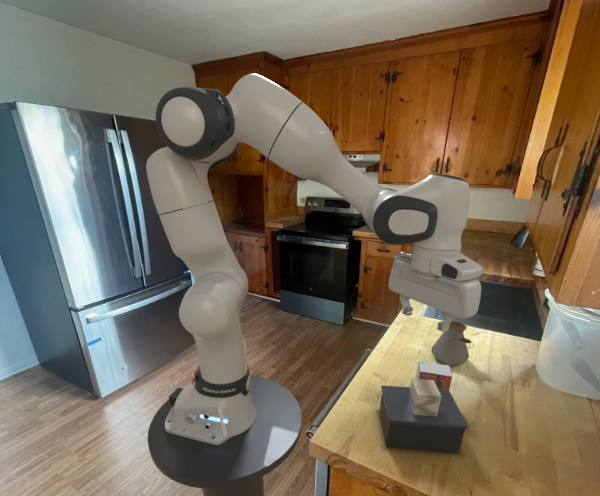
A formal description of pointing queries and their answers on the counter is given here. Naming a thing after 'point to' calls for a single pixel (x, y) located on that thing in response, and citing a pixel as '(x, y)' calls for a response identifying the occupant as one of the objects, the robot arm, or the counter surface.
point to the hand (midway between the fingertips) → (423, 322)
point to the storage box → (420, 423)
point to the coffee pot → (452, 345)
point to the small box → (435, 374)
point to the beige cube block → (424, 397)
